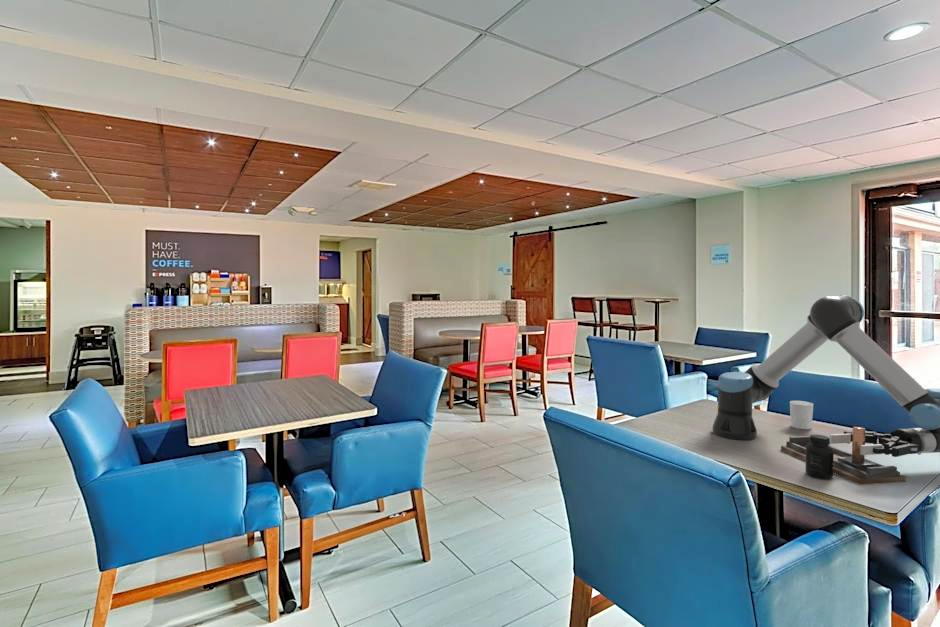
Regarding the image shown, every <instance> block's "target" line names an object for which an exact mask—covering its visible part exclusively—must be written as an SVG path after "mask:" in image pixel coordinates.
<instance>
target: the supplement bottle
mask: <svg viewBox="0 0 940 627" xmlns="http://www.w3.org/2000/svg"><path fill="white" fill-rule="evenodd" d="M809 436H810V442H811V443H809V444H807V445H806V461H805V464H804V465H805V468H804V469H805V474H806V475H807V476H808V477H811V478H815V479H817V480H818V479H819V480H832V479H833V476H834V473H833V458H834V451H833V449H832V447H830V446H831V443H830V436H827V435H822V434H810V435H809ZM829 445H830V446H829Z"/></svg>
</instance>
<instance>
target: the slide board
mask: <svg viewBox="0 0 940 627" xmlns="http://www.w3.org/2000/svg"><path fill="white" fill-rule="evenodd" d="M809 443H811V442H810V435H806V436H805V435H803V436H789V439H788V440H786V443H785V444H786V445H781V446H780V451H783V452H784V451H785V453H786V454H789V455H791V454H792V455H791V456H793V455H794V456H793V457H796V456H797V458H798V457H799V459H800V458H801V459H800V460H802V459H803V461H805V460H806V445H807V444H809ZM829 446H830V447H832V449H833V451H834V458H833V474H834V473H836V474H838V475H837V476H839V475H840V476H839V477H841V476H842V477H841V478H843V477H844V478H843V479H845V480H848V481H850V480H851V481H850V482H852V481H853V483H855V484H857V485H874V484H876V483H877V484H889V483H890V484H891V483H893V484H894V483H905V482H906V483H907V477H906V475H902V474H901V471H898V466H895V465H882V464H880V463H878V464H879V467H866V471H865V472H863V471H861V470H859V469H856V468H854V467H851V466H849V465H846V464H844V463H841V462H839V461H838V457H850V456H852V452H848V451H845V450H843V449H840V448H837V447H835V446H832V445H831V444H829ZM836 474H835V475H836Z"/></svg>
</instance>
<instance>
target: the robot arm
mask: <svg viewBox="0 0 940 627" xmlns="http://www.w3.org/2000/svg"><path fill="white" fill-rule="evenodd" d="M864 316H865V309H864V307H863V305H862V303H861V302H860V301H859V300H857V299H856V298H855V297H851V296H849V295H845V294H840V295H828V296H824V297H821V298H819V299H817V300H816V301H815V302H814V303H813V304H812V306H811V308H810V311H809V315H808V316H807V317H806V321H807V322H806V323H805V324H804V325H803V326H802V327H801V328H800V329H799V330H797V331H796V332H795V333H794V334H793V335H792V336H790V338H788V339H787V340H786V341H785V342H784V343H783V344H781V345H780V346H779V347H778V348H777V349H775V350H774V352H772V353H771V354H770V355H769V356H768V357H766V359H764V360H763V361H762V362H761V363H755V364H753V365H751V366H750V367H749V368H748V369H747V370H745V372H743V371H730V372H729V371H727V372H723V373H722V374H720V375H719V377H718V381H717V414H716V416H715V419H714V421H713V425H712V433H713V434H714V435H717V436H719V437H722V438H725V439H731V440H739V441H740V440H741V441H743V440H744V441H746V440H747V441H749V440H755V439H756V438H758V430H757V426H756V425H755V424H756V423H755V421H754V418H753V404H754V403H759V402H762V401H766V400H767V399H768V398H770V396H772V394H773V391H775V390H776V389H777V388H779V386H780V385H779V381H780V380H781V379H782V378H784V377H785V376H786V375H787V374H788V373H790V372H791V371H793V369H795V367H797V366H799V364H801V363H802V362H803V361H804V360H806V359H807V358H808V357H809V356H810V355H811V354H813V353H814V352H815V351H817V349H819V348H820V347H821V346H822V345H824V344H825V343H826V342H827V341H828V340H829V341H830V342H835V343H837V344H838V345H840V347H841V348H842V349H843V350H844V351H846V353H847V354H849V356H850V357H851V358H853V359H854V361H855V362H857V364H858V365H860V366H861V368H862V369H863V370H865V371H866V373H868V374H869V376H871V378H872V379H873V380H875V381H876V383H878V384H879V385H880V386H881V387H882V389H884V390H885V391H886V392H887V393H888V394H889V395H890V396H891V397H892V398H893V399H894V400H895V401H896V402H897V403H898V404H899V405H900V406H901V407H902V408H903V409H904V410H905V411H906V412H907V413H908V415H909V419H910V421H911V423H912V424H913V425H915V426H916V427H911V428H910V427H909V428H896V429H894V430H891V432H890V433H883V434H882V433H878V432H877V431H865V445H860V454H861V455H865V456H868V455H869V456H871V455H886V456H887V455H888V456H889V455H891V457H894V458H896V457H901V456H902V457H903V456H907V455H915V454H917V455H922V454H930V453H934V454H935V453H940V388H927V389H925V388H924V387H923V386H922V385H921V384H920V383H918V382H917V381H916V379H914V378H913V377H912V376H911V375H910V374H909V372H907V371H906V370H905V369H904V368H903V366H902V367H901V365H899V364H898V363H897V361H895V360H894V359H893V358H892V357H891V356H890V355H889V354H888V353H887V352H886V351H885V350H884V349H883V348H881V347H880V346H879V345H878V344H877V343H876V341H874V340H873V339H872V338H871V336H869V335H868V334H867V333H866V332H864V331H863V329H862V328H861V327H860V323H861V322H862V321H863V318H864ZM829 438H830V445H833V444H835V445H837V444H852V438H853V430H851V431H848V430H845V431H843V433H837V434H835V433H834V434H829Z"/></svg>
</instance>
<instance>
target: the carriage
mask: <svg viewBox="0 0 940 627" xmlns="http://www.w3.org/2000/svg"><path fill="white" fill-rule="evenodd" d="M852 431H853V438H852V442H851V454H852V456H850V457H838V461H839V462H841V463H844V464H846V465H849V466H851V467H854V468H856V469H859V470H861V471H863V472H865V471H866V467H879V464H880V463H878V462H874V461H872V460H869V459H868V458H865V456H866V455H861V454H860V445H866V443H865V432H866V428H865V427H859V426H853V427H852Z"/></svg>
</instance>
